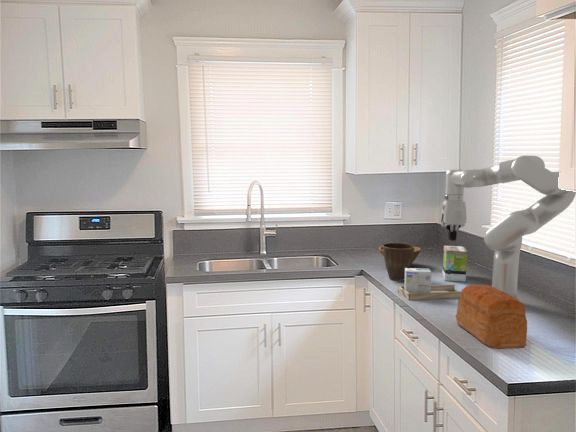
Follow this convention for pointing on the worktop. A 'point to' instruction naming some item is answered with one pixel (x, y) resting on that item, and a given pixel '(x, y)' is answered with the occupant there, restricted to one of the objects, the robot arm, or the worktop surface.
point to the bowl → (415, 254)
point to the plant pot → (397, 259)
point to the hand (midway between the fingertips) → (452, 240)
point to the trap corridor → (432, 292)
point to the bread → (492, 316)
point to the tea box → (454, 263)
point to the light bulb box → (417, 280)
